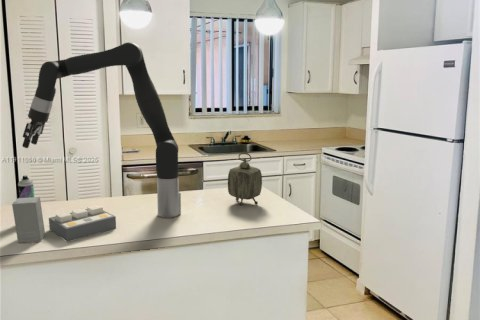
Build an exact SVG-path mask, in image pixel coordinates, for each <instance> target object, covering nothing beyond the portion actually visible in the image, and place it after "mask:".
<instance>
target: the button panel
mask: <svg viewBox="0 0 480 320" xmlns="http://www.w3.org/2000/svg"><path fill="white" fill-rule="evenodd" d="M84 209H85V210H87V211H88V209H87V208H84ZM69 213H70V214H71V215H72V212H69ZM116 219H117V218H116V216H115V215H114V214H111V213H109V212H108V211H105V210H104V209H103V213H100V214H96V215H91V214H89V213H88V216H87V217H83V218H79V219H76V218H74V217H72V220H71V221H67V222H63V223H59V222H58V221H56V215H55V216H51V217H48V224H49V226H48V227H49V231H51V232H52V233H53V234H55V235H57V236H58V237H59V238H61V239H62V240H64V241H66V242H71V241H75V240H79V239H83V238H87V237H89V236H93V235H97V234H100V233H101V234H102V233H104V232H108V231H111V230H114V229H117V220H116Z"/></svg>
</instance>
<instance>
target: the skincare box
mask: <svg viewBox="0 0 480 320" xmlns="http://www.w3.org/2000/svg"><path fill="white" fill-rule="evenodd" d="M41 202H42V201H41V197H40V196H34V197H31V198H19V197H18V198H17V199H15V200H14V201H13V203H12V204H11V206H12V211H13V212H12V213H13V219H14V225H15V232H16V237H17V243H18V244H23V243H36V242H37V243H38V242H42V240H43V238H44V237H45V236H46V231H45V224H44V223H45V222H44V218H43V217H44V215H43V210H42V203H41Z"/></svg>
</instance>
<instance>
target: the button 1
mask: <svg viewBox="0 0 480 320" xmlns="http://www.w3.org/2000/svg"><path fill="white" fill-rule="evenodd" d="M70 213H71V212H68V211H64V212H60V213H56V214H55V216H56V221H58V222H59V223H63V222H67V221H71V220H72V215H71V214H70Z"/></svg>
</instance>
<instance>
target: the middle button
mask: <svg viewBox="0 0 480 320" xmlns="http://www.w3.org/2000/svg"><path fill="white" fill-rule="evenodd" d="M85 209H86V208H78V209H74V210H72V211H71V213H72V217H74V218H76V219H79V218H83V217H87V216H88V211H87V210H85Z"/></svg>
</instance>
